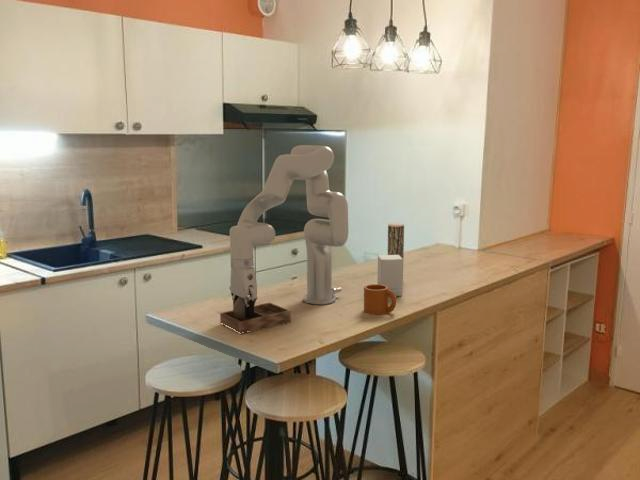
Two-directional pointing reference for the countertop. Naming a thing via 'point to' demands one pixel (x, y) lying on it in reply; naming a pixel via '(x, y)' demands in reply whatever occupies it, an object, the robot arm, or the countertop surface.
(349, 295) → the countertop surface
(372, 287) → the mug
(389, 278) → the supplement box
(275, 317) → the divided wooden tray
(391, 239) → the bark covered log
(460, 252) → the countertop surface
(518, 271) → the countertop surface
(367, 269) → the countertop surface
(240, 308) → the vase
